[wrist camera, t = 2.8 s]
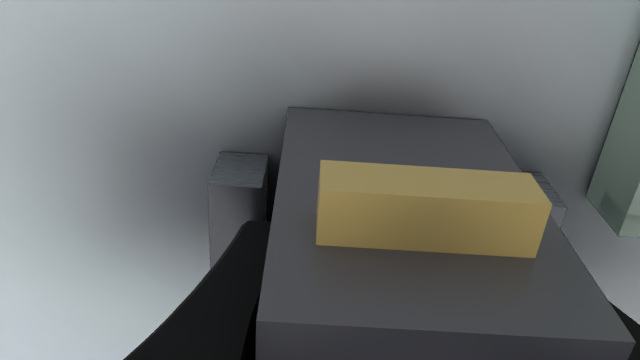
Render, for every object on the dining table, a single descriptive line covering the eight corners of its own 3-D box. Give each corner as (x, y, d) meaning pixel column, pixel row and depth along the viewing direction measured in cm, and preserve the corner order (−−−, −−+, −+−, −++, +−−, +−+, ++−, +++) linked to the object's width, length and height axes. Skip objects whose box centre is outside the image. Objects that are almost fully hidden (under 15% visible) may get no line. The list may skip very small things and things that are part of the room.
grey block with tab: (496, 82, 11) (663, 282, 5) (430, 368, 14) (491, 649, 9) (290, 68, 11) (256, 258, 5) (277, 359, 14) (250, 640, 9)
